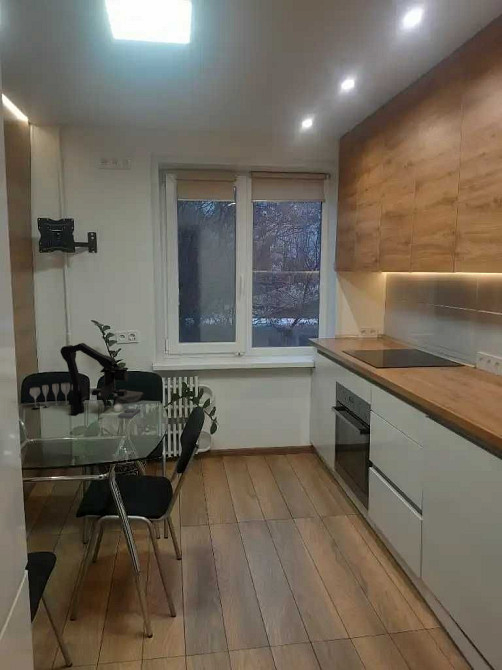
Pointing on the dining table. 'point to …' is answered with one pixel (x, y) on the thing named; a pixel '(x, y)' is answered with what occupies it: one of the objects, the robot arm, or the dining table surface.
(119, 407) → the ball
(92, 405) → the dining table surface
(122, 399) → the stone
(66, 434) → the dining table surface
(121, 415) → the panel
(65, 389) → the goblet set
